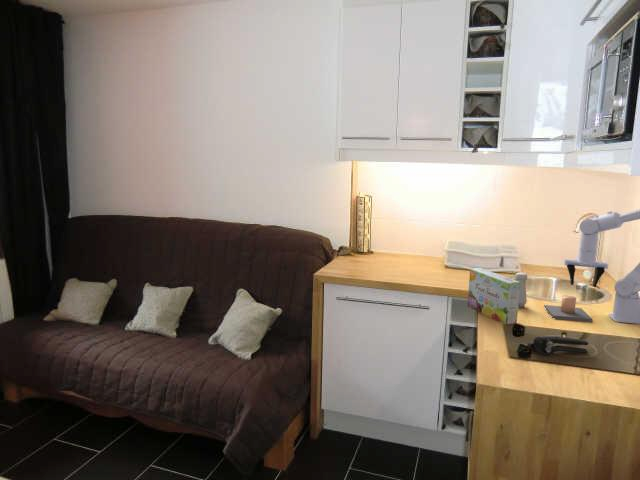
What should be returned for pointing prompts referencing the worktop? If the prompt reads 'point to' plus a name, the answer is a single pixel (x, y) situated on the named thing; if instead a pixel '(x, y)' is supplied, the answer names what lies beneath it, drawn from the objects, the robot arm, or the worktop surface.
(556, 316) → the plate
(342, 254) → the worktop surface
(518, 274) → the salt shaker
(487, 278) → the snack box
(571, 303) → the toy block
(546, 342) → the can opener
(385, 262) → the worktop surface
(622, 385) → the worktop surface
